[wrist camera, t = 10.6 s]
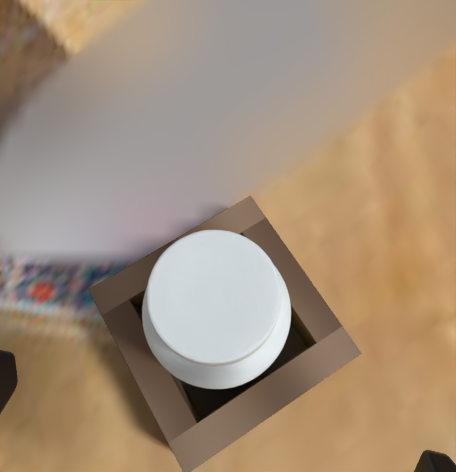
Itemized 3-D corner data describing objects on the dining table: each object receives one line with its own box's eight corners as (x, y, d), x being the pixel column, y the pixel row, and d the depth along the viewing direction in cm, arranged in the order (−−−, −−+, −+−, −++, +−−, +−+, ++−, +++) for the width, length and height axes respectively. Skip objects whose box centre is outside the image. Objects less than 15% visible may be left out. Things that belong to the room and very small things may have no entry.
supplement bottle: (241, 408, 20) (249, 432, 11) (147, 351, 21) (83, 331, 12) (291, 309, 21) (335, 259, 12) (202, 260, 22) (182, 180, 13)
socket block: (191, 461, 20) (185, 475, 17) (106, 300, 22) (88, 289, 19) (344, 356, 21) (361, 353, 18) (248, 217, 24) (250, 195, 21)
